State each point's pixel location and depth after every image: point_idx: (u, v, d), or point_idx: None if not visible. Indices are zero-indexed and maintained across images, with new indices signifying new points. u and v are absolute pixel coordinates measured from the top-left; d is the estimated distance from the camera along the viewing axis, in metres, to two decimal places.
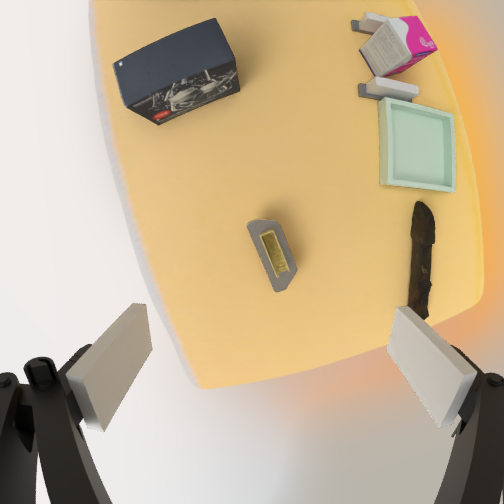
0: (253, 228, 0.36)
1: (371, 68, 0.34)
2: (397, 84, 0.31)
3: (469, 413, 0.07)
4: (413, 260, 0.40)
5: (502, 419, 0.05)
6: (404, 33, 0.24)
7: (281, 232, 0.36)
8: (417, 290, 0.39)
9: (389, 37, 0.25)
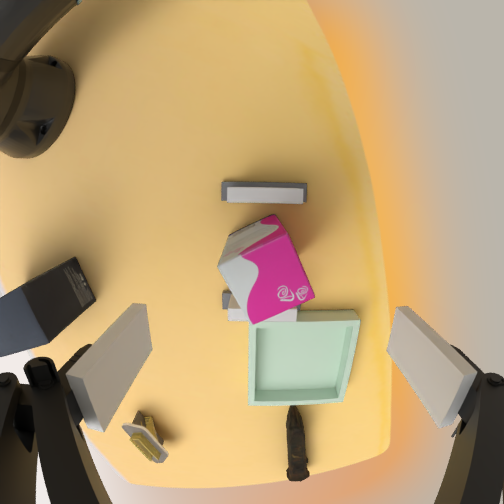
0: (126, 429, 0.34)
1: None
2: None
3: (469, 413, 0.07)
4: (287, 445, 0.38)
5: (502, 419, 0.05)
6: (245, 290, 0.22)
7: (148, 435, 0.34)
8: (290, 466, 0.38)
9: None
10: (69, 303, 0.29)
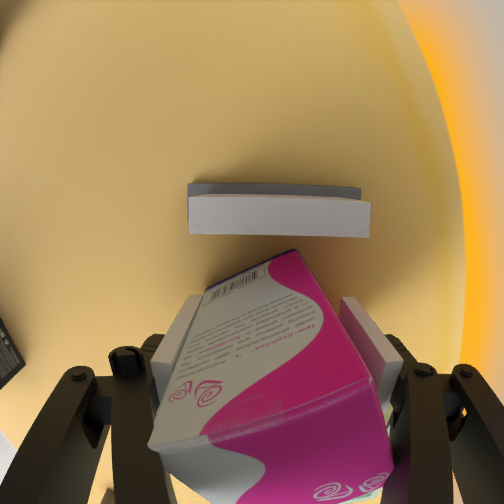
0: None
1: None
2: None
3: (400, 405, 0.08)
4: None
5: (438, 410, 0.06)
6: (229, 493, 0.06)
7: None
8: None
9: None
10: None
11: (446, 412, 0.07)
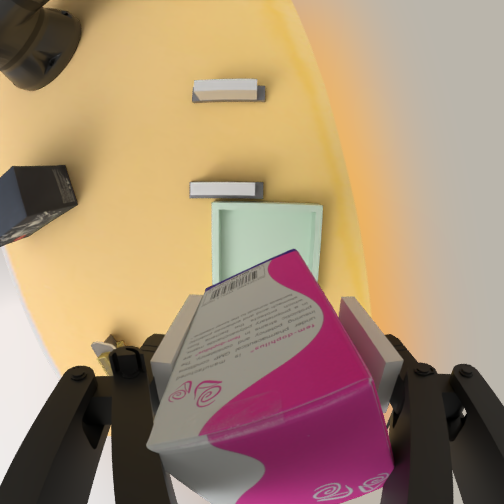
0: (96, 348, 0.36)
1: None
2: (222, 187, 0.31)
3: (399, 405, 0.08)
4: None
5: (438, 410, 0.06)
6: (229, 493, 0.06)
7: None
8: None
9: None
10: (52, 195, 0.30)
11: (446, 412, 0.07)
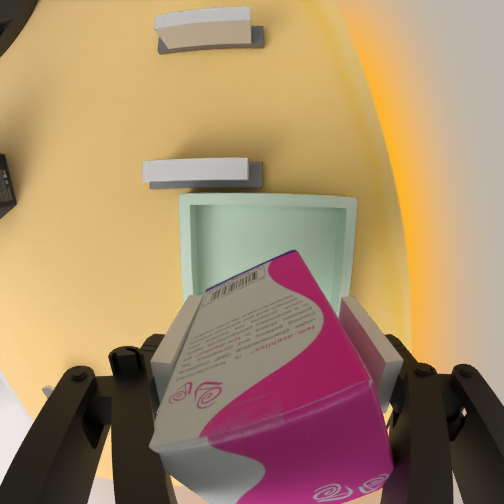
0: (48, 394, 0.23)
1: None
2: (192, 166, 0.18)
3: (400, 405, 0.08)
4: None
5: (438, 410, 0.06)
6: (229, 494, 0.06)
7: None
8: None
9: None
10: None
11: (446, 412, 0.07)
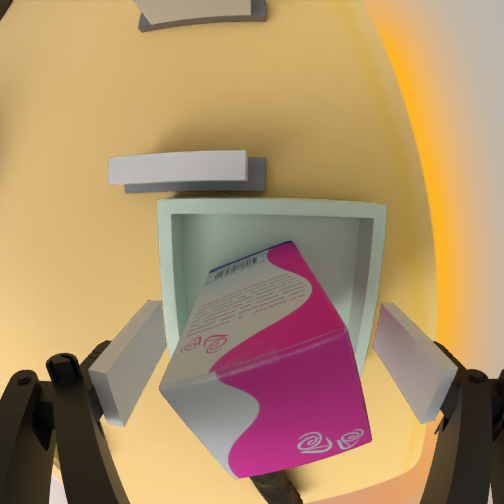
0: None
1: None
2: (171, 163, 0.13)
3: (451, 410, 0.07)
4: None
5: (486, 416, 0.05)
6: (226, 436, 0.08)
7: None
8: (264, 497, 0.22)
9: None
10: None
11: (493, 415, 0.06)
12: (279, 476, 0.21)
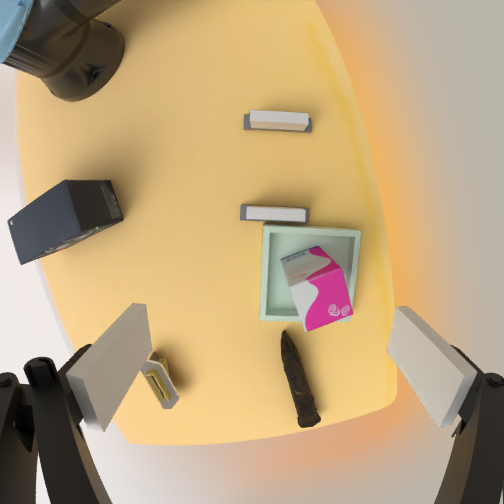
0: (142, 366, 0.40)
1: None
2: (275, 212, 0.34)
3: (469, 413, 0.07)
4: None
5: (502, 419, 0.05)
6: (306, 305, 0.29)
7: (163, 372, 0.40)
8: (297, 407, 0.42)
9: None
10: (102, 210, 0.34)
11: None
12: (307, 385, 0.41)
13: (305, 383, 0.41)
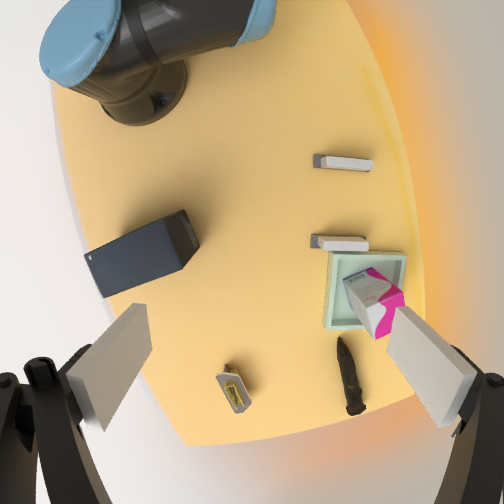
0: (220, 378, 0.46)
1: (348, 300, 0.46)
2: (346, 244, 0.40)
3: (469, 413, 0.07)
4: (342, 378, 0.49)
5: (502, 419, 0.05)
6: (377, 320, 0.35)
7: (240, 382, 0.46)
8: (348, 398, 0.49)
9: (364, 315, 0.37)
10: (188, 243, 0.40)
11: None
12: (357, 380, 0.48)
13: (356, 378, 0.48)
